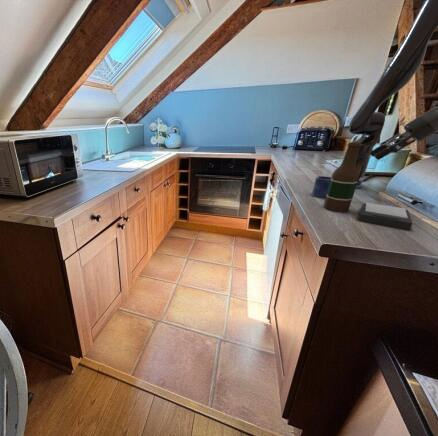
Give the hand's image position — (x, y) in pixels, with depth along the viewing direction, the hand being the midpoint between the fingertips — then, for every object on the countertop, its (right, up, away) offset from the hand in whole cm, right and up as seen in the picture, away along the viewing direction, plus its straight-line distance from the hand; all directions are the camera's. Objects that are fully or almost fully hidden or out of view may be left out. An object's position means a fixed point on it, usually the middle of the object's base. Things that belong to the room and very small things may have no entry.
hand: (373, 156), depth 93 cm
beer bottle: (-15, -20, -1) cm, 26 cm away
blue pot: (-11, -14, +13) cm, 22 cm away
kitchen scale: (-7, -24, -11) cm, 27 cm away
